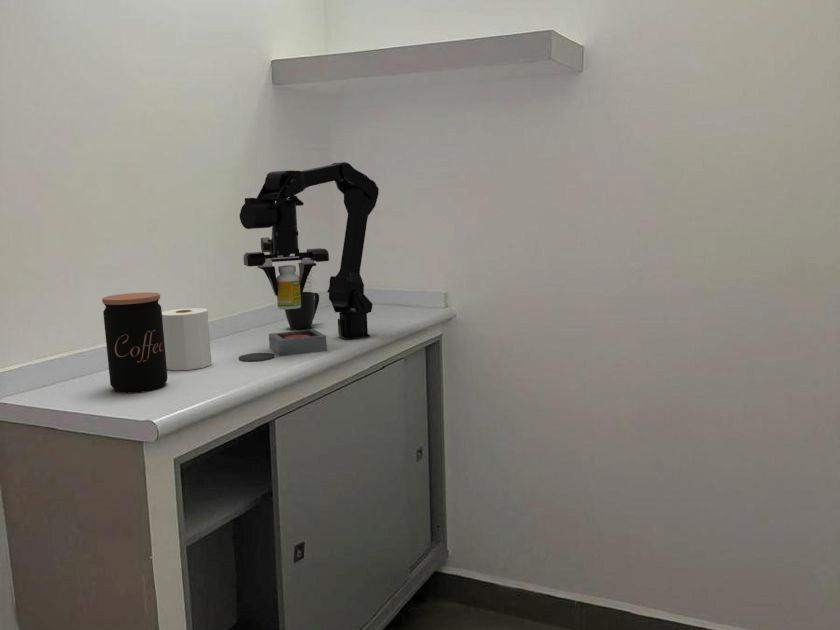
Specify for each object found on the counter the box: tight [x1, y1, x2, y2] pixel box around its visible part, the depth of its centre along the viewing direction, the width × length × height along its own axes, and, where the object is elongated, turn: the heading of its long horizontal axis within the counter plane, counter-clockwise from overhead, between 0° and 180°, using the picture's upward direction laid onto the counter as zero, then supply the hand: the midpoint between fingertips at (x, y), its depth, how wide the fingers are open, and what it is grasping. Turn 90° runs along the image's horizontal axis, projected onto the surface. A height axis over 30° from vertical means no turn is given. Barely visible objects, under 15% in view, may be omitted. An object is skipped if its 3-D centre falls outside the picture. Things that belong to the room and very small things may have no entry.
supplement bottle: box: [276, 264, 301, 310], centre depth 192 cm, size 5×5×10 cm
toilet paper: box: [162, 307, 213, 371], centre depth 181 cm, size 10×10×12 cm
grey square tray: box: [268, 328, 328, 357], centre depth 195 cm, size 11×11×4 cm
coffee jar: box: [101, 292, 168, 394], centre depth 162 cm, size 11×11×18 cm
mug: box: [284, 291, 320, 331], centre depth 226 cm, size 8×12×10 cm
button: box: [284, 335, 310, 339], centre depth 195 cm, size 6×6×2 cm
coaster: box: [238, 352, 276, 363], centre depth 187 cm, size 8×8×1 cm
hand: (288, 294), depth 192 cm, fingers closed on supplement bottle, 5 cm apart
